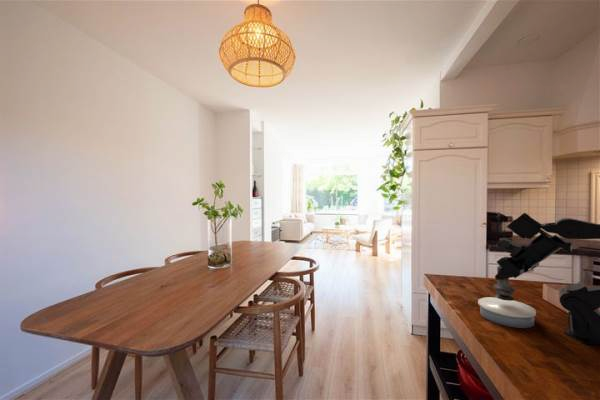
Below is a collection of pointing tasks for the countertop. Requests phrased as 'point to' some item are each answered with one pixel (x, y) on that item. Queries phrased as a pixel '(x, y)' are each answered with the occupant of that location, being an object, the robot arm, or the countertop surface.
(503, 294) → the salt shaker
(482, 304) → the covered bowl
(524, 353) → the countertop surface
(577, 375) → the countertop surface
